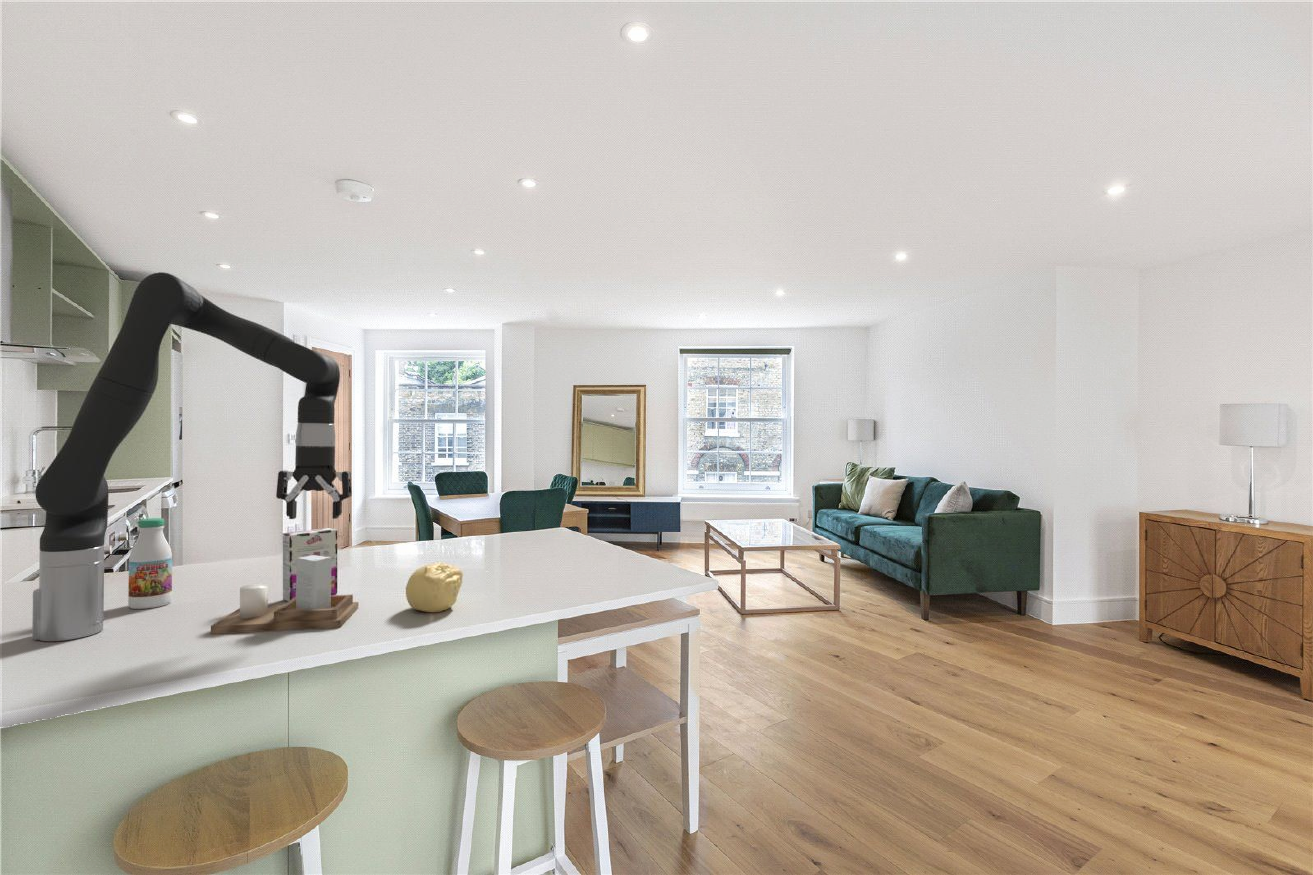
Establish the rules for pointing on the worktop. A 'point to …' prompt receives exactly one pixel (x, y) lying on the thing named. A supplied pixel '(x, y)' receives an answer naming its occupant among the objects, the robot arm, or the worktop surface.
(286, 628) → the walnut organizer
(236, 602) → the worktop surface
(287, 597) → the candy bar box
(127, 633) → the worktop surface
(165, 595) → the milk bottle
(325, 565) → the skincare box
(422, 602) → the sculpture
